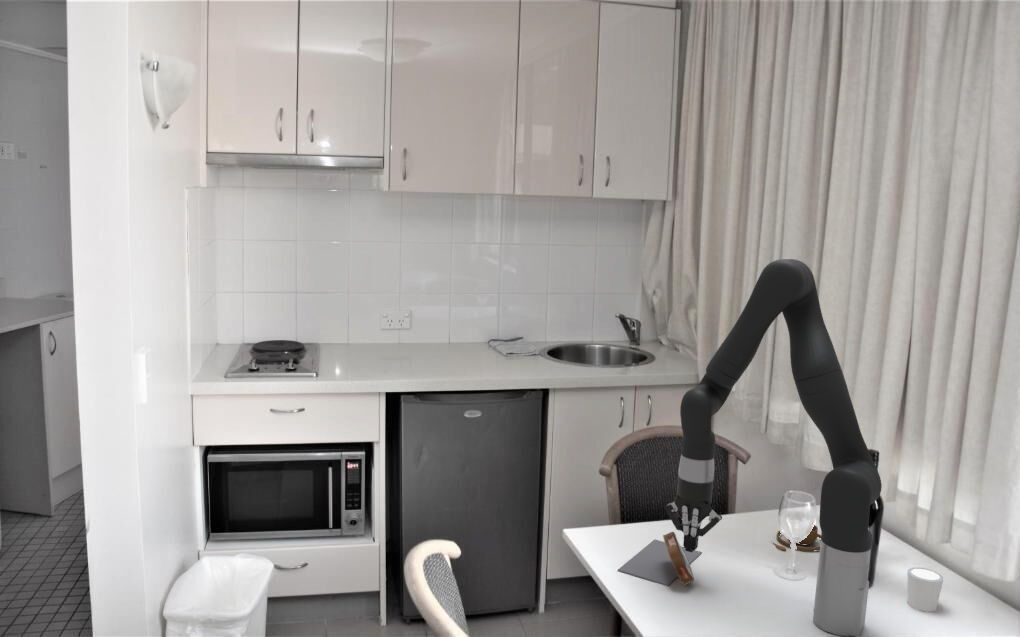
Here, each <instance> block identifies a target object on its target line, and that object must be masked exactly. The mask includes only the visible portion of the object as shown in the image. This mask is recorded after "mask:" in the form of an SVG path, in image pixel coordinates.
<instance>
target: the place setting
mask: <svg viewBox="0 0 1020 637" xmlns="http://www.w3.org/2000/svg"><path fill="white" fill-rule="evenodd" d="M818 528H819V527H818V526H817V525H815V524H814V527H813V529H812V531H811V532H810V534H809V535H808V536H807V538H805V539H804V540H802V541H801V542H799V543H800V544H809V543H810V544H812V543H814V542H815V541H816V540H817V539H816V538H817V537H819V538H821V534H820V533H818V532H819V531H818V530H819V529H818ZM780 534H781V533H780V530H779V531H777V533H776V540H777V541H778V542H779V543H780V544H782V545H783V546H782V545H778V544H776V543H775V542H773V544H772V545H774V546H775V548H776V549H778V550H780V551H783V552H784V551H787V548H789V547H790V544H791V543H789V542H787V541H785V540H783V539H782V538H781V537H779V536H780ZM810 544H809V545H810ZM784 545H785V546H784ZM799 550H800V552H805V551H814V550H820V546H817V547H813V546H812V547H810V546H809V547H807V546H803V545H797V550H796V551H799Z"/></svg>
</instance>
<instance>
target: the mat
mask: <svg viewBox="0 0 1020 637" xmlns="http://www.w3.org/2000/svg"><path fill="white" fill-rule="evenodd" d="M681 547H682V548H683V550H684V552H685V555H686V557H687V559H688V562H689V564H690V565H691V564H692V563H694V561H695V560H696V559H698V558H699V556H701V554H702V553H703V552H702V551H699V550H697V549H696V550H695V551H693V552H688V551H686V550H685V548H684V546H681ZM617 572H620V573H624V574H626V575H630V576H633V577H636V578H640V579H643V580H647V581H649V582H653V583H657V584H659V585H663V586H666V587H668V586H670V584H672V583H673V582H674V581H675V580H676V579H678V578H679V576H678V574H677V572H676V570H675V568H674V566H673V563H672V561H671V559H670V556H669V554H668V551H667V547H666V544H665V541H662V540H658V539H653V540H652V541H651V542H650V543H648V544H647V545H646V546H644V547H643V548H642V549H641V550H640V551H638V553H636V554H635V555H633V556H632V558H630V559H628V560H627V562H625V563H624V564H623V565H622V566H620V567H619V568H618V569H617Z"/></svg>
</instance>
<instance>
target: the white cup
mask: <svg viewBox="0 0 1020 637" xmlns="http://www.w3.org/2000/svg"><path fill="white" fill-rule="evenodd" d="M943 582H944V576H943V575H942V574H941V573H939V572H937V571H935V570H932V569H929V568H925V567H917V566H916V567H915V566H914V567H910V568H908V569H907V582H906V583H907V589H906V590H907V592H906V593H907V595H906V596H907V599H906V600H907V601H906V602H907V604H908V605H909V607H911V608H913V609H915V610H918V611H922V612H927V613H928V612H935V611H936V610H937V609H938V603H939V599H940V595H941V591H942V586H943Z"/></svg>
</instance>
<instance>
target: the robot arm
mask: <svg viewBox="0 0 1020 637" xmlns="http://www.w3.org/2000/svg"><path fill="white" fill-rule="evenodd" d="M814 276H815V275H814V274H813V271H812V270H811V268H810V267H809V266H808V265H807V264H806V263H804V262H803V261H801V260H798V259H794V258H793V259H792V258H787V259H786V258H783V259H777V260H773V261H772V262H771V261H770V263H768V264H767V265H766V266H765V267H764V268H763V269H762V271H761V272H760V274H759V277H758V279H757V281H756V283H755V285H754V287H753V290H752V291H751V294H750V295H749V296H750V297H749V298H748V301H746V302H747V303H746V304H745V306H744V308H743V310H742V311H741V314H740V315H739V317H738V319H737V321H736V322H735V323H734V326H733V327H732V328H731V329H730V332H729V333H728V334H727V336H726V337H725V339H724V340H723V342H722V343H721V344H720V346H719V347H718V349H717V350H716V352H715V353H714V354H713V356H712V358H711V359H710V360H709V362H708V364H707V365H706V369H705V374H704V376H702V379H701V380H700V381H699V383H698V384H697V385H696V386H694V387H693V388H691V389H689V390H687V391H686V392H685V393H684V394H683V395H682V398H681V403H680V407H679V409H680V411H679V412H680V414H679V415H680V423H681V425H680V426H681V430H682V439H681V453H680V459H679V463H678V464H679V465H678V471H677V473H678V474H677V475H678V477H677V487H676V488H677V489H676V490H677V491H676V496H675V497H674V501H673V502H669V503H668V504H666V505H665V506H664V510H665V512H666V514H667V515H668V517H669V519H670V520H671V522H672V523H673V526H674V528H675V530H677V531H680V532H682V533H683V544H682V545H683V546H682V547H684V548H685V550H686V551H688V552H693V551H695V550H696V551H697V549H698V546H699V537H704V536H705V535H706V534H707V533H709V531H710V530H712V529H713V528H714V527H715V526H716V525H717V524H718V523H719V522H721V521H722V519H723V516H722V515H721V514H718V513H717V512H715V510H714V505H713V502H712V500H713V489H714V479H715V478H714V477H715V452H716V451H715V450H716V434H715V433H714V431H713V430H712V419H713V418H712V416H714V415H715V414H717V413H718V412H719V411H720V409H722V407H723V406H724V405H725V402H727V399H728V397H729V395H730V394H731V391H732V390H733V387H734V386H735V384H737V383H738V381H739V380H740V378H741V377H742V376H743V374H744V373H745V372H746V370H747V369H748V367H749V365H750V364H751V362H752V361H753V360H754V358H755V356H756V354H757V352H758V350H759V347H760V345H761V342H762V340H763V338H764V336H765V334H766V333H767V331H768V330H769V328H770V327H771V325H772V323H773V322H774V321H775V320H776V319H777V318H778V316H779V315H781V313H782V315H783V318H784V320H785V323H786V326H787V331H788V336H789V354H790V355H789V356H790V357H789V358H790V367H791V374H792V377H793V380H794V385H795V387H796V391H797V394H798V397H799V400H800V402H801V405H802V407H803V408H804V410H805V412H806V413H807V415H808V416H809V418H810V419H811V421H812V422H813V424H814V425H815V426H816V428H817V429H818V431H819V432H820V433H821V436H822V437H823V439H824V442H825V443H826V446H827V449H828V452H829V456H830V460H831V464H832V469H831V470H830V471H828V472H827V474H826V475H825V476H824V479H823V482H822V485H821V491H820V500H819V502H820V505H819V519H818V520H819V521H818V522H819V528H820V531H821V534H820V535H821V542H820V546H819V547H820V551H819V555H818V566H817V576H816V585H815V587H816V588H815V595H814V596H815V597H814V606H813V616H812V620H813V623H814V624H815V626H816V627H818V628H820V630H822V631H825V632H828V633H829V634H834V635H838V636H844V637H860V636H861V633H862V631H863V629H864V627H865V625H866V614H867V608H868V606H867V605H868V598H869V597H868V595H869V588H870V587H869V586H870V580H868V579H869V571H870V570H869V569H870V560H871V551H872V542H873V534H872V533H871V531H870V530H869V525H870V524H869V522H870V511H871V505H873V504H874V503H875V502H876V501H877V500H878V499H879V497H880V495H881V492H882V486H883V485H882V480H881V475H880V473H879V471H878V468H877V466H876V464H875V462H874V459H873V457H872V455H871V453H870V451H869V448H868V447H867V444H866V442H865V439H864V437H863V434H862V432H861V429H860V425H859V422H858V417H857V414H856V411H855V409H854V408H855V407H854V405H853V402H852V399H851V396H850V391H849V389H848V384H847V382H846V378H845V376H844V372H843V369H842V367H841V364H840V361H839V358H838V355H837V353H836V349H835V347H834V344H833V341H832V339H831V337H830V334H829V331H828V328H827V326H826V324H825V323H826V322H825V320H824V317H823V313H822V309H821V305H820V301H819V300H820V299H819V296H818V295H819V294H818V289H817V284H816V280H815V277H814ZM707 516H709V517H708V523H707V524H706V525H705V526H704V527H703V528H701V527H702V526H701V525H702V523H703V521H704V520H705V519H706V518H707Z"/></svg>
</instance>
